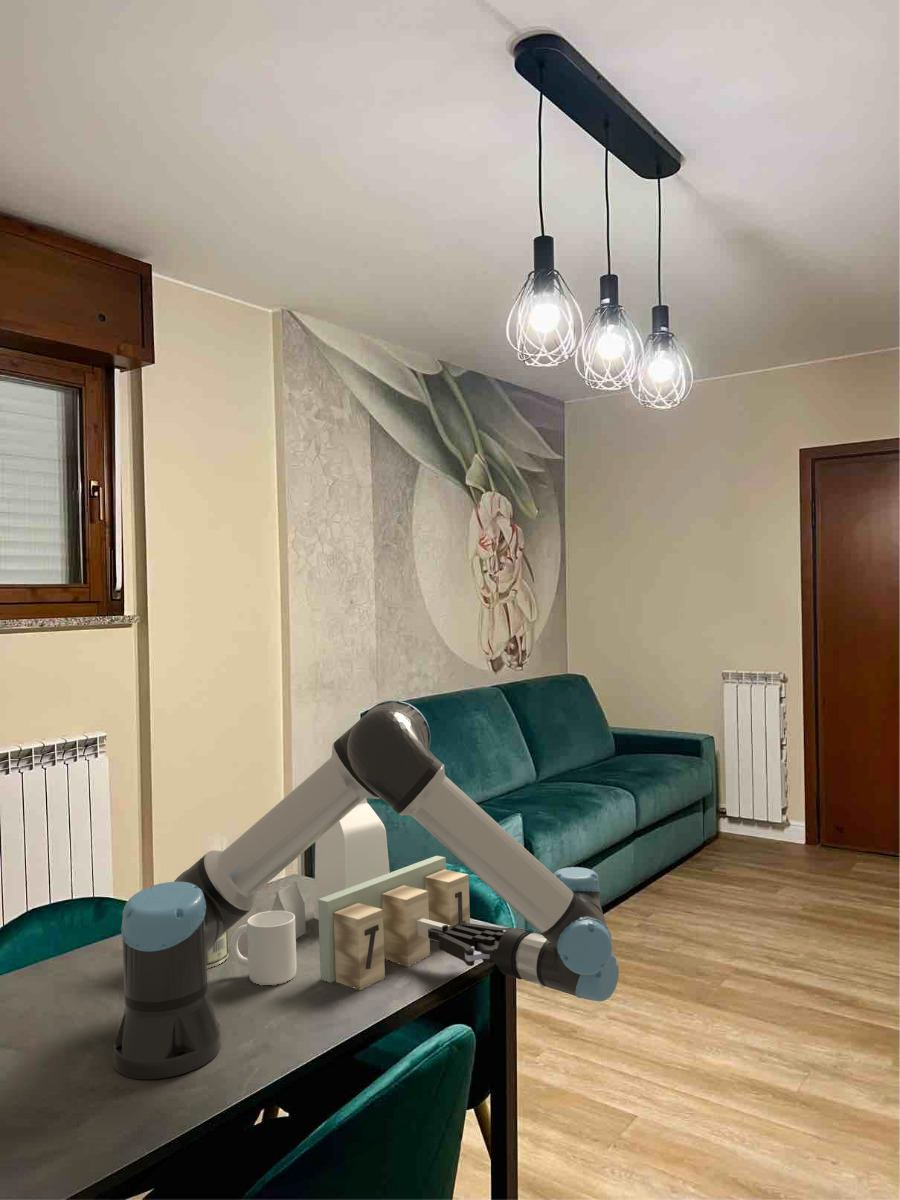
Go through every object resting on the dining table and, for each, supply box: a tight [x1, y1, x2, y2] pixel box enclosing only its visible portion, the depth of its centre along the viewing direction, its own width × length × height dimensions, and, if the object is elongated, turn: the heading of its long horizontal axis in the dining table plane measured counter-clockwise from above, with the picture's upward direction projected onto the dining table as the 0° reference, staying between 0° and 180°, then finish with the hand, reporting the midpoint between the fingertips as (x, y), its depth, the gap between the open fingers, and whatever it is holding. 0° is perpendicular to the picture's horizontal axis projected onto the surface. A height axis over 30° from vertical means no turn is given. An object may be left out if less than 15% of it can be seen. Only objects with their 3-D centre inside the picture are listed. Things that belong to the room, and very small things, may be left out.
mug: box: [229, 910, 297, 986], centre depth 160 cm, size 12×8×10 cm
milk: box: [313, 798, 391, 921], centre depth 189 cm, size 12×12×26 cm
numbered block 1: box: [425, 869, 471, 943], centre depth 175 cm, size 6×6×12 cm
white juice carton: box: [270, 881, 306, 940], centre depth 178 cm, size 4×7×10 cm, turn 159°
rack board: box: [318, 855, 447, 984], centre depth 169 cm, size 2×32×14 cm, turn 140°
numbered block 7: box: [334, 903, 386, 991], centre depth 157 cm, size 6×6×12 cm
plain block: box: [382, 885, 431, 967], centre depth 166 cm, size 6×6×12 cm
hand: (420, 926), depth 164 cm, fingers closed
